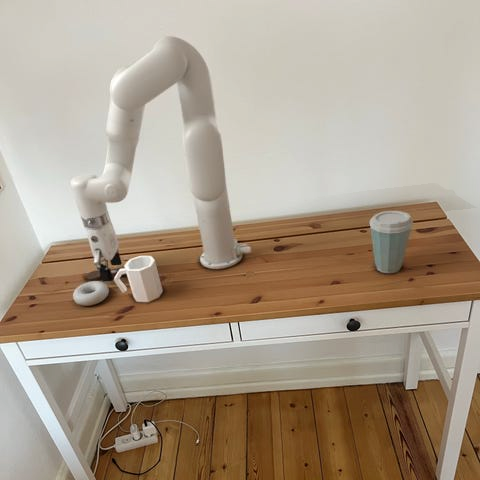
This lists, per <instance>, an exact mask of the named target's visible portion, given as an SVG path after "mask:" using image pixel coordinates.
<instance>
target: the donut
mask: <svg viewBox="0 0 480 480" xmlns="http://www.w3.org/2000/svg"><path fill="white" fill-rule="evenodd" d="M109 292H110V290H109V286H108V285H107V284H106V283H105V282H103V281H101V280H99V281H91V282H90V281H87V282H84V283H82V284H81V285H78V286H77V287H76V288H75V289H74V291H73V294H72V298H73V301H74V302H75V304H77V305H79V306H81V307H82V306H83V307H88V306H94V305H97V304H99V303H101V302H103V301H105V299H106V298H107V297H108V296H109Z"/></svg>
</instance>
